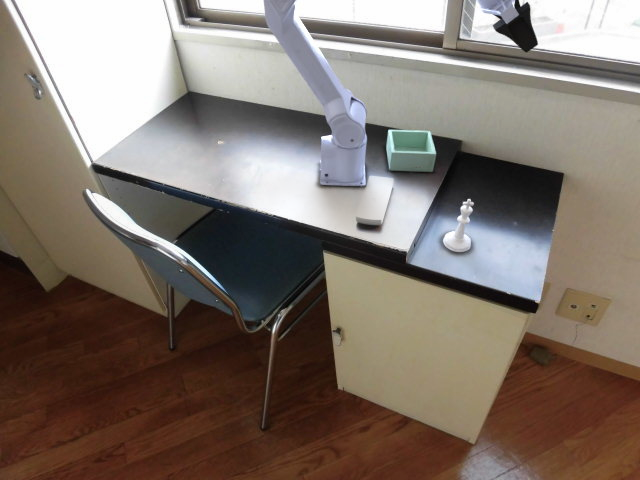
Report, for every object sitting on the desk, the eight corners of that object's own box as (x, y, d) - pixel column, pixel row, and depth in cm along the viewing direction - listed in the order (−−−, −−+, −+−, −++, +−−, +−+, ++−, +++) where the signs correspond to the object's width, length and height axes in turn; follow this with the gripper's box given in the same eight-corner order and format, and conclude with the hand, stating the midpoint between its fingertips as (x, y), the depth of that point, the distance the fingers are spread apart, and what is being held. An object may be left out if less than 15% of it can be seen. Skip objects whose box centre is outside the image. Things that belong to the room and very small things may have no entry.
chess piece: (441, 233, 88) (452, 190, 81) (467, 234, 88) (480, 191, 81) (445, 251, 85) (457, 208, 78) (473, 252, 85) (487, 209, 78)
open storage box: (389, 170, 103) (391, 152, 100) (386, 147, 110) (388, 129, 107) (432, 171, 103) (436, 153, 100) (426, 148, 110) (430, 130, 106)
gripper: (516, -37, 65) (562, 39, 71) (499, -60, 76) (539, 7, 82) (471, 0, 69) (518, 69, 75) (460, -27, 80) (502, 35, 86)
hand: (526, 39), depth 79 cm, fingers open, 7 cm apart
